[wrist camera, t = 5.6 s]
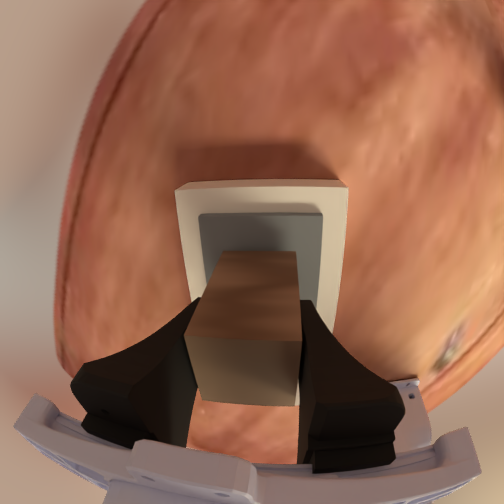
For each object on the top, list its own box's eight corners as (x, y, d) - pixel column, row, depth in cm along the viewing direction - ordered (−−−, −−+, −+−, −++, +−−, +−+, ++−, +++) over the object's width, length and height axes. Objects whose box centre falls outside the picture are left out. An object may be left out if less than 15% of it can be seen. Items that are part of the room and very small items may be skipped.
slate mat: (321, 212, 15) (323, 215, 15) (314, 313, 18) (315, 318, 18) (200, 213, 16) (198, 216, 15) (213, 310, 19) (211, 315, 18)
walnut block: (296, 251, 15) (302, 341, 9) (293, 310, 17) (294, 406, 10) (223, 250, 15) (183, 334, 9) (229, 309, 17) (202, 400, 11)
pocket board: (339, 179, 17) (348, 187, 14) (316, 385, 25) (317, 405, 23) (188, 182, 18) (174, 190, 16) (218, 382, 26) (214, 400, 24)
